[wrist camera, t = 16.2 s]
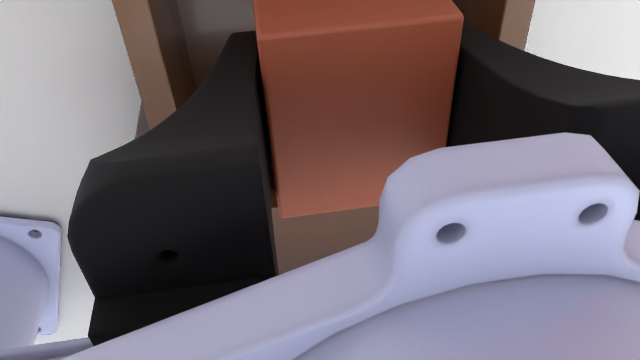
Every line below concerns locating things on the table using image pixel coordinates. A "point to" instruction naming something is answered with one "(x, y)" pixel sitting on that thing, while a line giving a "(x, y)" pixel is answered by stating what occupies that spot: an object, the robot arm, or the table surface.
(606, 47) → the table surface
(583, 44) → the table surface
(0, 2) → the table surface
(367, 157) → the block
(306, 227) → the cabinet
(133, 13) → the drawer
